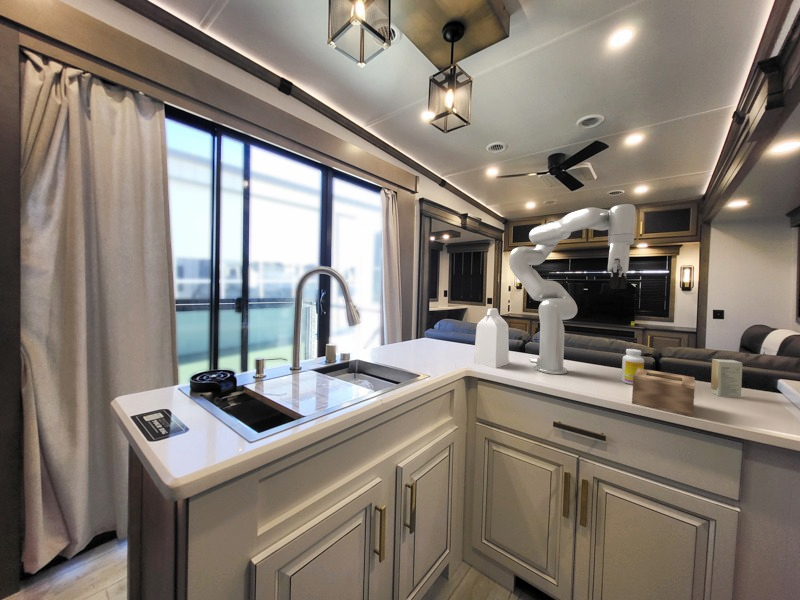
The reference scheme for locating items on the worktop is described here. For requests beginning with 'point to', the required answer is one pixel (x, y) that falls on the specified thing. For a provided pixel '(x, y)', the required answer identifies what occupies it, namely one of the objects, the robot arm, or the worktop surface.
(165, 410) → the worktop surface
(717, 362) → the skincare box
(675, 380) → the box
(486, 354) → the milk
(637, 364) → the supplement bottle
